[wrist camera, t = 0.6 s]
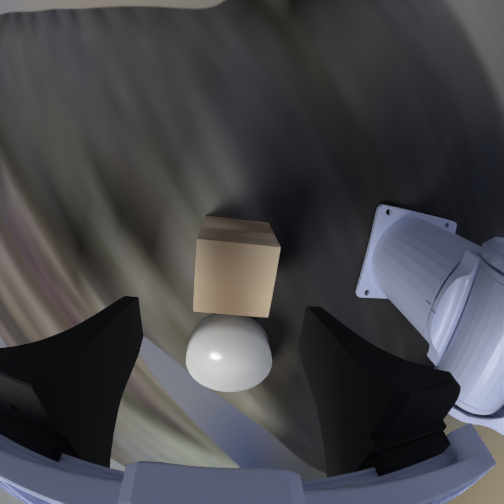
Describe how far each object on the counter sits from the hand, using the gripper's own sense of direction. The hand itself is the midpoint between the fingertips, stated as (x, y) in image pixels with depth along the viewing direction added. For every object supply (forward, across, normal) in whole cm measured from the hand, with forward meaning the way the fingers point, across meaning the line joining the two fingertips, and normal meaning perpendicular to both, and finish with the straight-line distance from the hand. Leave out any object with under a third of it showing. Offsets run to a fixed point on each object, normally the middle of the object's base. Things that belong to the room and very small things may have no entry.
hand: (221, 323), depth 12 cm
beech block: (+10, -1, 0) cm, 10 cm away
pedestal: (+10, -1, +9) cm, 13 cm away
